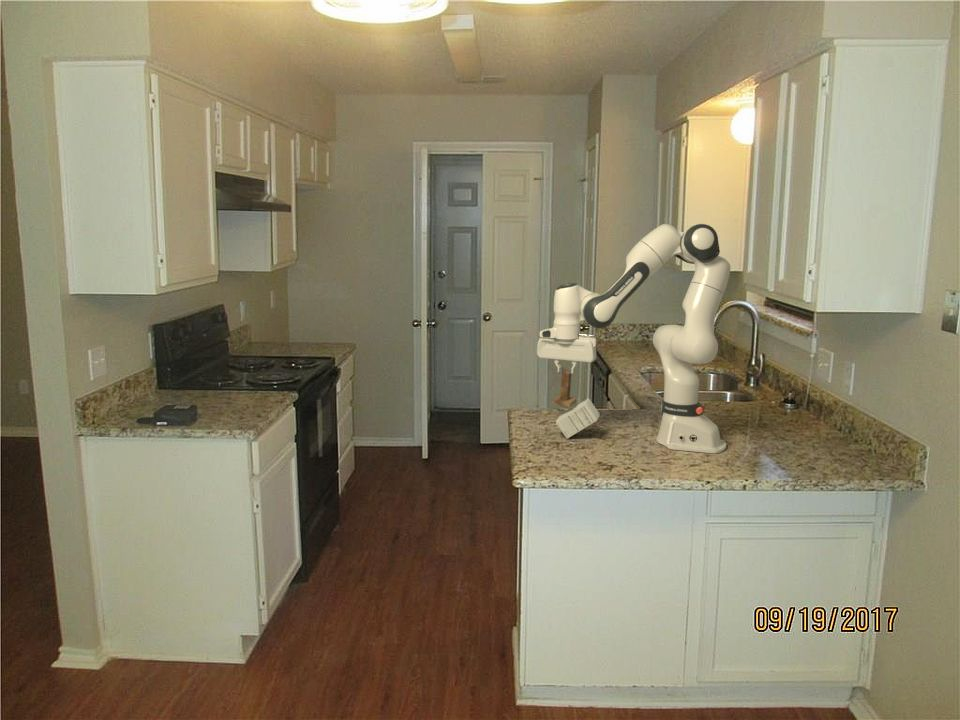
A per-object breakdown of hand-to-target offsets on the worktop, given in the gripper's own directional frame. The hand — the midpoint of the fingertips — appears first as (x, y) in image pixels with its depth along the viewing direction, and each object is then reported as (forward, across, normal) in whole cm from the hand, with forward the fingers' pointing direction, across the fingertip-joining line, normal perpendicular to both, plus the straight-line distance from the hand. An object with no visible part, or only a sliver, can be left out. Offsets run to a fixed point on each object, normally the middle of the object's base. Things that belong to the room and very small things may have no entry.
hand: (566, 373), depth 252 cm
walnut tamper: (+11, +1, -1) cm, 11 cm away
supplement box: (+19, +1, 0) cm, 19 cm away
